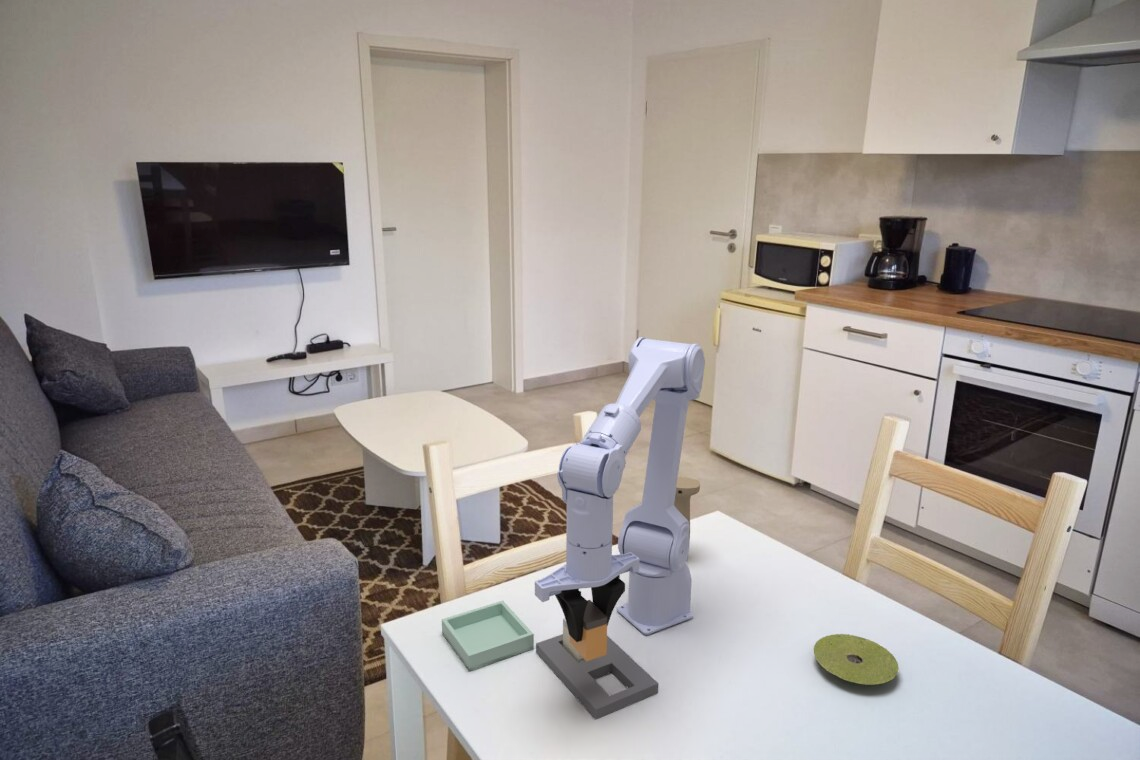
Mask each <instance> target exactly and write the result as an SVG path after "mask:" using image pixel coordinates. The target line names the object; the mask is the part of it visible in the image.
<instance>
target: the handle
mask: <svg viewBox="0 0 1140 760" xmlns="http://www.w3.org/2000/svg"><path fill="white" fill-rule="evenodd" d="M700 487H701V483H700V481H699V480H697V479H694V478H690V477H686V476H683V477H682V476H678V479H677V486H676V493H675V501H674V506H675V507H676V509H677V510H678V511H679V512H680V513H681V514H682V515H683V516H684V517H685V518H686V519H687V520H688V522H689V542H690V541H691V539H690V538H691V497H692V496H694V495H697V494H698V493H699V492H700Z"/></svg>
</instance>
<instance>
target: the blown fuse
mask: <svg viewBox="0 0 1140 760" xmlns="http://www.w3.org/2000/svg"><path fill="white" fill-rule="evenodd" d="M586 600H587V599H586ZM587 601H588V604H587V606H586V609H585V613H584V618H583V636H582V641H579V642H576V641H575V640H574V639H573V638H572V637H571V636H570V643H571V644H572V645H573V647H574V648H575V649H576V650H577V651H578V652H579V654H580V655H581V656H582V657H583V658H584V659H585V661H589V660H592V659H595V658H598V657H601V656H604V655H607V636H608V626H607V616H606V615H605V614H604V613H603V612H602V611H601V610H600V609H599V608H598V607H597V606H596V605H595V604H594V603H593V600H591V599H588V600H587Z"/></svg>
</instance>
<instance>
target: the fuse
mask: <svg viewBox="0 0 1140 760" xmlns="http://www.w3.org/2000/svg"><path fill="white" fill-rule="evenodd" d="M562 634H563V647H564V648H565V649H566V650H567V651H568V652H569V653H570V654H571V656H572V657H573V658H574V659H575V660H576V661H577V662H580V661H583V660H585V659H584V658H583V657H582V656H581V655H580V654H579V652H578V651H577V650H576V649H575V648H574V647H573V645H572V644H571V643H570V635H569V631H568V627H567V623H566V619H565V617H564V618H563V619H562Z"/></svg>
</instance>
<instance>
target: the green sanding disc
mask: <svg viewBox="0 0 1140 760" xmlns="http://www.w3.org/2000/svg"><path fill="white" fill-rule="evenodd" d="M813 654H814V657H815V659H816V661H817V662H818V663H819V665H820V666H821V667H822V668H823V669H825V670H826V672H829V673H830V674H832V675H834V676H836V677H838V678H839V679H842V680H844V681H848V682H849V683H855V684H860V685H866V686H867V685H869V686H870V685H871V686H872V685H881V684H885V683H888V682H890V681H892V680H894V678H895V677H897V675H898V673H899V670H900V669H899V662H898V660H897V658H896V657H895V656H894V654H892V652H890V651H889V650H888V649H887V648H886V647H884V646H883V645H880V644H879V643H877V642H875V641H872V640H871V639H868V638H864V637H861V636H857V635H853V634H847V633H846V634H844V633H840V634H839V633H835V634H830V635H826V636H823V637H821V638H819V639H818V640H817V641H816V642H815V644H813Z"/></svg>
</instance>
